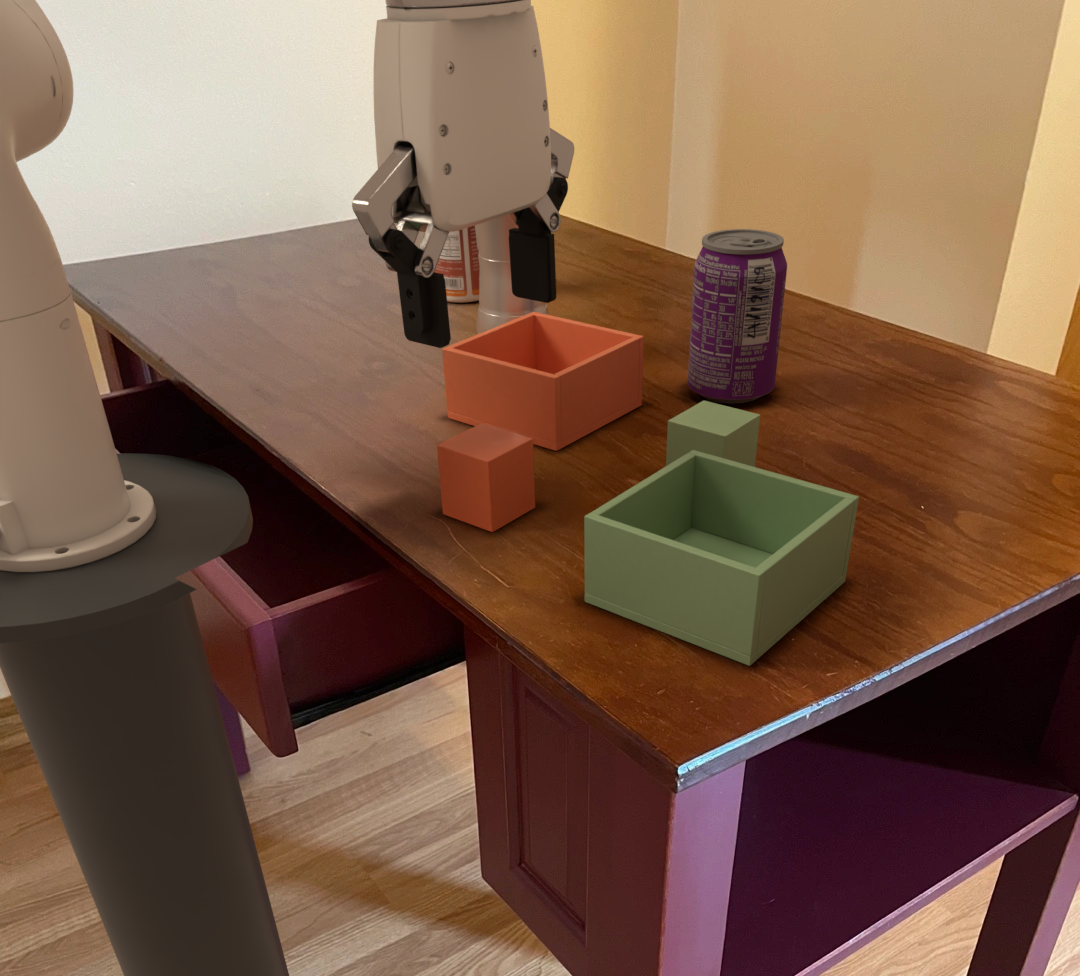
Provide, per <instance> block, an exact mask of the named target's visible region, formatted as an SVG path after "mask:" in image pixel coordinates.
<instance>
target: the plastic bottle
mask: <svg viewBox="0 0 1080 976" xmlns="http://www.w3.org/2000/svg"><path fill="white" fill-rule="evenodd" d="M512 228H518V226H517V225H516V224H515V222H514V221H513V219H512V218H511V216H510V215H509V214H508V215H505V216H502V217H499V218H496V219H493V220H490V221H487V222H484V223H481V224H478V225H475V231H476V240H477V248H478V250H479V254H478V257H479V266H480V275H479V300H478V304H479V305H478V307H477V315H476V329H475V331H476V335H477V334H480V333H482V332H485V331H487V330H490V329H492V328H495V327H497V326H499V325H502V324H504V323H507V322H509V321H512V320H514V319H517V318H519V317H522V316H524V315H527V314H530V313H532V312H538V313H542V314H547V315H550V312H549V309H548V308H549V307H548V304H547V303H545V302H540V301H535V300H529V299H524V298H519V297H516V296H515V295H514V294H513V293H512V283H511V267H510V251H509V229H512ZM518 229H519V228H518Z"/></svg>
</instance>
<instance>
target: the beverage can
mask: <svg viewBox="0 0 1080 976" xmlns="http://www.w3.org/2000/svg"><path fill="white" fill-rule="evenodd" d="M784 241H785V239H784V236H781V235H780V234H778V233H775V232H772V231H767V230H762V229H751V228H733V229H732V228H731V229H723V230H722V229H721V230H715V231H712V232H709V233H707V234H705V235H703V236H702V238H701V246H702V247H701V249H700V251H699V253H698V255H697V257H696V259H695V262H694V265H693V282H692V299H691V300H692V301H691V317H690V319H691V320H690V333H689V335H690V336H689V349H688V350H689V351H688V371H687V386H688V387H689V389H690V390H691V391H693V393H696V394H698V395H699V396H702V398H704V399H706V400H707V401H710V402H713V403H719V404H729V405H730V404H732V405H733V404H734V405H735V404H744V403H749V402H752V401H755V400H757V399H758V398H761V397H763V396H766V395H768V394H769V393H771V392H772V391H773V390H774V389H775V385H776V379H777V378H776V377H777V369H778V356H779V350H780V349H779V348H780V341H781V340H780V339H781V330H782V319H783V311H784V302H785V292H786V283H787V274H788V273H787V272H788V262H787V259H786V256H785V253H784V250H783V246H784Z"/></svg>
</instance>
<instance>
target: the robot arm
mask: <svg viewBox="0 0 1080 976" xmlns="http://www.w3.org/2000/svg"><path fill="white" fill-rule="evenodd" d="M384 1H385V5H386V6H385V10H386V18H381V19H376V25H375V26H376V27H375V37H374V48H373V49H374V50H373V51H374V52H373V118H374V119H373V121H374V136H375V150H376V151H375V152H376V163H377V170H376V171H375V172H374V173H373V174H372V175H371V177H370V178H369V179H368V180H367V182H365V184H364V185H363V186H362V187H361V188H360V190H359V191H358V192H357V193H355V195H354V197H353V199H352V202H351V209H352V211H353V213H354V215H355V217H356V219H357V220H358V222H359V224H360V226H361V228H362V229H363V231H364V234H365V235H366V236H368V245H369V246H370V248H371V249H372V250H373V251H374V252H375V253H376V254H377V255H378V256H379V257H380V258H381V259H382V260H383V261H384V262H385V266H386V269H388V270H389V271H390V272H394V273H396V278H397V284H398V292H399V301H400V308H401V316H402V318H401V319H402V327H403V334H404V337H405V339H406V340H407V341H409V342H413V343H416V344H421V345H426V346H429V347H433V348H438V349H443V348H445V347H448V346H450V343H451V341H452V340H451V339H452V337H451V328H450V327H451V326H450V317H449V307H448V306H449V305H448V301H447V295H446V285H445V278H444V274H440V273H435V272H434V271H435V268H436V266H437V263H438V260H439V258H440V255H441V253H442V250H443V247H444V245H445V242H446V239H447V237H448V234H449V232H453V231H458V230H462V229H465V228H468V227H471V226H475V225H478V224H481V223H484V222H487V221H490V220H493V219H496V218H499V217H502V216H505V215H508V214H509V215H510V216H511V218H512V219H513V221H514V222H515V224H516V225H517V226H518V228H519V229H518V228H512V229H509V251H510V267H511V283H512V293H513V294H514V295H515V296H516V297H519V298H524V299H529V300H535V301H540V302H545V303H546V304H549V303H551V302H553V301H554V302H555V300H556V299H557V273H556V249H555V245H556V244H555V234H554V233H556V232H558V230H559V229H560V227H561V223H562V222H561V220H562V217H561V214H560V210H561V208H562V206H563V204H564V201H565V199H566V197H567V194H568V192H569V183H568V181H567V179H569V176H570V172H571V167H572V164H573V159H574V155H575V145H574V142H573V141H572V140H570V139H569V138H567V137H565V136H564V135H562V134H561V133H559V132H558V131H556V130H554V129H553V128H552V127H551V123H550V112H549V111H550V110H549V99H548V89H547V82H546V80H547V79H546V74H545V73H546V72H545V66H544V57H543V50H542V45H541V38H540V33H539V27H538V23H537V18H536V12H535V8H534V5H532V0H384ZM71 69H72V68H71V65H70V62H69V58H68V55H67V53H66V50H65V48H64V45H63V43H62V41H61V39H60V37H59V36H58V33H57V31H56V29H55V28H54V27H53V25H52V23H51V22H50V20H49V18H48V17H47V15H46V13H45V12H44V10H43V9H42V7H41V6H40V5H39V3H38V2H37V0H0V570H1V571H9V572H25V573H35V572H47V571H55V570H61V569H67V568H73V567H77V566H80V565H84V564H88V563H92V562H94V561H97V560H100V559H103V558H106V557H108V556H111V555H113V554H115V553H117V552H120V551H122V550H124V549H125V548H127V547H129V546H130V545H132V544H134V543H135V542H136V541H138V540H139V539H140V538H141V537H143V536H144V535H145V534H146V533H147V532H148V530H149V529H150V528H151V527H152V526H153V523H154V521H155V519H156V509H155V505H154V502H153V498H152V496H151V495H150V493H149V492H148V491H147V490H145V489H144V488H142V487H141V486H139V485H137V484H134V483H132V482H129V481H125V480H124V478H123V475H122V471H121V468H120V464H119V461H118V457H117V454H118V453H117V450H116V447H115V443H114V439H113V436H112V432H111V429H110V425H109V422H108V418H107V415H106V411H105V408H104V404H103V400H102V397H101V394H100V390H99V387H98V383H97V379H96V376H95V371H94V368H93V364H92V362H91V357H90V355H89V350H88V346H87V343H86V340H85V337H84V333H83V329H82V326H81V322H80V319H79V315H78V312H77V307H76V305H75V300H74V298H73V294H72V290H71V289H70V285H69V283H68V282H69V281H68V278H67V275H66V272H65V268H64V265H63V262H62V258H61V254H60V252H59V248H58V247H57V243H56V241H55V238H54V236H53V233H52V231H51V228H50V226H49V224H48V222H47V220H46V218H45V216H44V214H43V213H42V210H41V208H40V206H39V205H38V203H37V201H36V200H35V198H34V197H33V194H32V192H31V191H30V189H29V187H28V184H27V183H26V180H25V179H24V176H23V174H22V173H21V170H20V168H19V165H18V162H20V161H22V160H24V159H27V158H29V157H30V156H33V155H35V154H37V153H38V152H40V151H42V150H43V149H45V148H46V147H48V146H49V145H51V144H52V143H53V142H54V141H56V140H57V138H58V137H59V136H60V135H61V133H62V132H63V131H64V129H65V127H66V126H67V123H68V121H69V119H70V116H71V113H72V110H73V105H74V80H73V74H72V70H71ZM396 224H397V225H396ZM420 232H421V233H423V236H422V239H421V242H420V244H419V246H417V245H416V241H417V238H418V236H419V233H420Z"/></svg>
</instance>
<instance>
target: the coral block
mask: <svg viewBox="0 0 1080 976" xmlns="http://www.w3.org/2000/svg"><path fill="white" fill-rule="evenodd" d="M436 451H437V452H436V453H437V464H438V473H439V485H440V486H439V487H440V497H441V505H442V506H441V507H442V515H444V516H447V517H449V518H452V519H454V520H457V521H460V522H463V523H466V524H468V525H472V526H474V527H477V528H478V529H482V530H485V531H488V532H490V533H494V532H495V531H497V530H499V529H500V528H502V527H505V526H506V525H508V524H510V523H511V522H513V521H515V520H516V519H518V518H520V517H522V516H524V515H525V514H527V513H528V512H530V511H532V510H534V509H536V491H535V490H536V486H535V484H536V483H535V458H534V457H535V456H534V444H533V438H530V437H526V436H523V435H520V434H516V433H513V432H510V431H506V430H503V429H500V428H497V427H493V426H490V425H487V424H483V423H481V424H479V425H477V426H473V427H471V428H469V429H467V430H465V431H463V432H461V433H458V434H457V435H454V436H452V437H451V438H449V439H446V440H444V441H442V442H440V443H438V444H436Z"/></svg>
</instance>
